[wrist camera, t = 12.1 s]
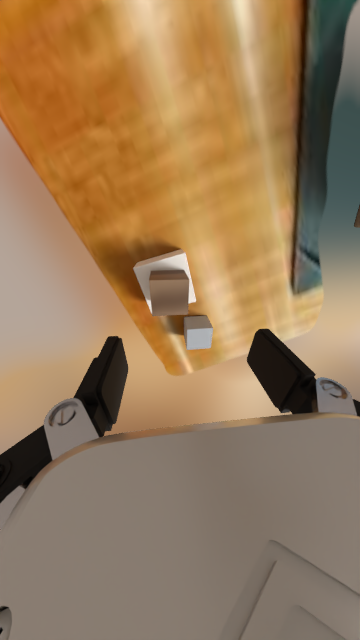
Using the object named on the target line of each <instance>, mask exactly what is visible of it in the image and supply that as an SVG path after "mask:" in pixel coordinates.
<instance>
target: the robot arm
mask: <svg viewBox="0 0 360 640" xmlns="http://www.w3.org/2000/svg"><path fill="white" fill-rule="evenodd" d="M247 362H248V364H249V366H250V367H251V369H252V371H253V372H254V374H255V375H256V377H257V379H258V380H259V382H260V383H261V385H262V387H263V388H264V390H265V391H266V393H267V395H268V396H269V398H270V399H271V401H272V403H273V404H274V405H275V407H277V408H278V409H279V411H280V412H281V413H286V412H290V411H291V412H292V415H281V416H271V417H260V418H251V419H241V420H231V421H222V422H213V423H203V424H193V425H184V426H176V427H167V428H157V429H149V430H141V431H134V432H126V433H119V434H114V435H108V436H104V433H105V431H111V428H112V425H113V424H115V423H116V421H117V416H118V412H119V408H120V403H121V399H122V395H123V391H124V386H125V382H126V378H127V374H128V364H127V360H126V356H125V351H124V347H123V343H122V339H121V338H118V336H110V337H108V338H107V340H106V342H105V344H104V346H103V348H102V350H101V352H100V354H99V356H98V357H97V358H94V359H93V361H92V363H91V365H90V367H89V369H88V371H87V373H86V375H85V376H84V378H83V381H82V382H81V384H80V386H79V388H78V390H77V392H76V394H75V396H74V398H70V399H66V400H64V401H62V402H60V403H58V404H57V405H55V406H54V407H53V408H52V409H51V410H50V411H49V413H48V414H47V415H46V417H45V420H44V425H43V426H41V427H40V428H38V429H37V430H36V431H34V432H33V433H31V434H30V435H28V436H27V437H25V438H24V439H22V440H21V441H20V442H18V443H17V444H15V445H14V446H12V447H11V448H10V449H8V450H7V451H5V452H4V453H2V454H1V455H0V530H1V531H0V640H360V402H358V401H356V400H354V399H352V396H351V394H350V392H349V391H348V390H347V389H346V388H345V387H344V386H342V385H341V384H339V383H338V382H336V381H334V380H331V379H328V378H322V377H321V378H318V379H317V380H316V379H315V378H314V376H315V373H314V372H313V371H312V370H311V369H309V368H308V367H307V366H306V365H305V364H304V363H303V362H302V361H301V360H300V359H299V358H298V357H297V356H296V355H295V354H294V353H293V352H292V351H291V350H290V349H288V347H287V346H286V345H285V344H284V343H283V342H282V341H280V340H279V339H278V338H277V337H276V336H275V335H274V334H273V333H272V332H271V331H270V330H269V329H259V330H258V331H257V332H256V333H255V336H254V339H253V342H252V345H251V348H250V351H249V354H248V357H247ZM103 436H104V437H103Z"/></svg>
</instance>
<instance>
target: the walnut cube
mask: <svg viewBox="0 0 360 640" xmlns="http://www.w3.org/2000/svg"><path fill="white" fill-rule="evenodd" d="M149 287H150V297H151V307H152V316H165V315H186V314H188V301H189V278H188V276H187V274H186V273H185V271H184V270H157V271H151V273H150V277H149Z"/></svg>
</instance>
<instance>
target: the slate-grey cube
mask: <svg viewBox="0 0 360 640" xmlns="http://www.w3.org/2000/svg"><path fill="white" fill-rule="evenodd" d="M212 333H213V327H212V325H211V323H210V321H209V319H208V317H207V316H191V317H184V338H185V343H186V348H187V350H190V349H203V348H211V341H212Z"/></svg>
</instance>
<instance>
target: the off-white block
mask: <svg viewBox="0 0 360 640" xmlns="http://www.w3.org/2000/svg"><path fill="white" fill-rule="evenodd" d="M133 269H134V272H135V274H136V277H137V279H138V282H139V284H140V286H141V289H142V291H143V294H144V296H145V299H146V301H147V303H148V306H149V308H150V311H151V313H152V307H151V297H150V287H149V277H150V273H151V271H157V270H184V271H185V273H186V274H187V276H188V278H189V301H188V303H192V302H195V301H196V298H195V294H194V289H193V285H192V280H191V276H190V271H189V267H188V262H187V258H186V253H185V252H184V251H183V250H182V249H180V250H177V251H173V252H170V253H167V254H163V255H160V256H156V257H153V258H150V259H146V260H143V261H140V262H137V263H136V265H135V266H134V268H133Z"/></svg>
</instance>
